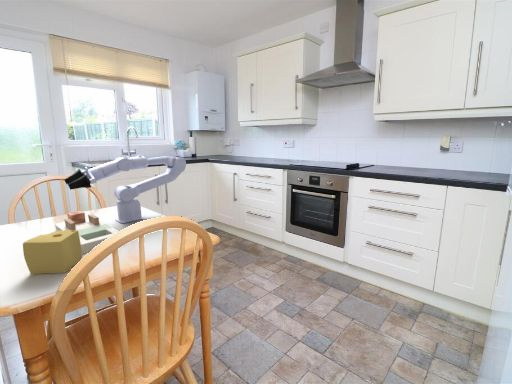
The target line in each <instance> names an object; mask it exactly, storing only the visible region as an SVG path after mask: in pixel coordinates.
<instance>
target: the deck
mask: <svg viewBox="0 0 512 384" xmlns="http://www.w3.org/2000/svg"><path fill="white" fill-rule="evenodd" d="M87 216H88V217H85V219H86V222H83V223H78V224H75V222H73V221H72V220H70V219H68V218H65V219H64V221H63V222H60V223H55V225H54V226H55V230H56V231H61V230H78V232H79V237H80V243H81V249H82V254H83V253H84V254H85V253H87V252H88V253H89V252H90V250H91V251H93V250H92V249H93V248H94V247H95V246H97V245H98V244H100V243H101V242H102V241H104V240H105V239H107V238H108V237H110V236H111V235H113V234H115V233H116V232H118V231H119V230H118V229H116V228H114V227H112V226H110V225H108V224H107V223H105V222H103V221H101V220H100V218H99V216H98V215H97V216H96V215H95V214H92V213H89V214H88V215H87ZM56 231H55V232H56Z"/></svg>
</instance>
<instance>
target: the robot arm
mask: <svg viewBox="0 0 512 384" xmlns="http://www.w3.org/2000/svg"><path fill="white" fill-rule="evenodd" d="M154 165H165V166H166V171H165V172H164V173H162V174H158V175H156V176H153V177H151V178H147V179H145V180H142V181H140V182H137V183H132V184H128V185H118V186H116V188H115V189H114V196H115V198H117V199H116V208H117V209H116V210H117V216H118V218H115V220H114V221H116V222H118V223H120V224H126V223H131V222H134V221H138V220H142V219H143V216H142V208H141V207H142V206H141V203H140V201H139V199H135V198H136V197H138V196H139V195H140V194H142V193H146V192H148V191H151V190H152V189H153V190H154V189H155V188H156V189H157V188H159V187H161V186H164V185H167V184H169V183H172V182H174V181H176V179H178V178H179V176H180V175H181V174H182V173H183V172H184V171H185V170H186V166H187V162H186V159H185V158H183V157H181V156H180V157H178V156H173V155H172V156H168V155H167V156H166V155H163V156H156V157H149V158H148V157H146V156H145V155H142V154H137V156H129V155H127V156H126V157H117V158H115V160H112V161H108V162H106V163H103V164H100V165H97V166H94V167H92V168H88V167H87V166H85V170H82V171H81V169H80V168H78V169H77V170H76V171H75V172H74V173H73V174H71V175H70V176H67V177H65V179H64V182H65V184H66V185H67V186H68V188H69V189H70V191H71V190H76V189H82V188H86V189H88V188H92V186H91V185H94V184H96V183H97V182H98V181H102V180H104V179H106V178H109V177H111V176H115V175H116V174H119V173H121V172H129V171H130V170H132V171H133V170H140V169H146V168H147V167H148V166H154Z"/></svg>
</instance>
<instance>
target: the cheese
mask: <svg viewBox="0 0 512 384" xmlns="http://www.w3.org/2000/svg"><path fill="white" fill-rule="evenodd" d="M22 252H23V257H24V261H25V263H26V266H27V269H28V271H29V274H30V275H45V274H62V273H67V272H68V271H69V270H70V269H72V267H74V266H75V265H76V264H78V262H80V260H82V259H83V253H82V249H81V243H80V237H79V232H78V230H61V231H53V232H51V233H46V234H39V235H37V236H35V237H32V238H29V239H27V240H26V241H23V243H22ZM81 258H82V259H81Z"/></svg>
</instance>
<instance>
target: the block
mask: <svg viewBox="0 0 512 384" xmlns="http://www.w3.org/2000/svg"><path fill="white" fill-rule="evenodd" d="M66 214H67V219H70V220H72V221H73V222H75V224H78V223H83V222H86V219H85V218H86V214H85V212H84V211H82V210H77V211H71V212H68V213H66Z"/></svg>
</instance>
